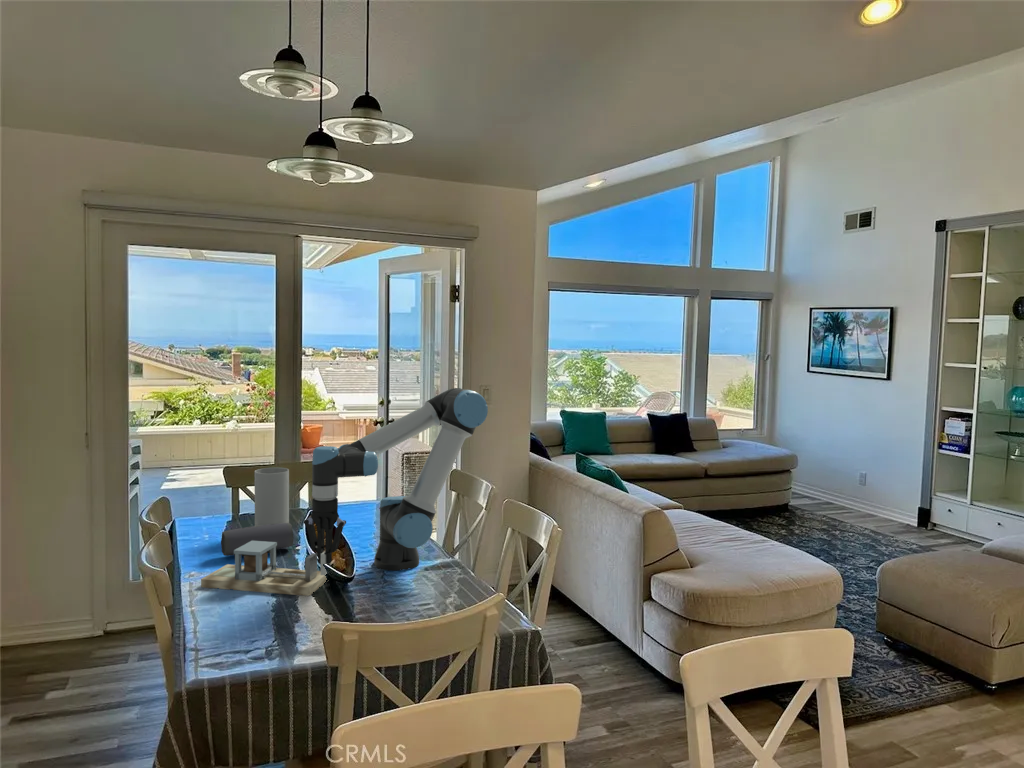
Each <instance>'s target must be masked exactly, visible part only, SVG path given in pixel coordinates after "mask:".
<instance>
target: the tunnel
mask: <svg viewBox="0 0 1024 768" xmlns="http://www.w3.org/2000/svg"><path fill="white" fill-rule="evenodd" d="M276 546H277V542H266V541H250V542H248V543H246V544H245V545H243V546H241V547H239V548H237V549H235V550H234V554H235V555H234V565H235V579H238V580H251V581H261V580H262V554H263V553H265V552H267V551H269V550H270V553H269V562H268V566H272V569H275V571H276V568H277V549H276ZM241 554H246V555H256V573H255V572H242V571H241V565H242V555H241Z"/></svg>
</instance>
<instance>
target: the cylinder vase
mask: <svg viewBox="0 0 1024 768" xmlns="http://www.w3.org/2000/svg"><path fill="white" fill-rule="evenodd" d="M289 491H290V469H289V468H287V467H264V468H258V469H256V470H254V526H259V525H269V524H280V523H290V492H289Z"/></svg>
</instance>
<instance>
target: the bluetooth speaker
mask: <svg viewBox="0 0 1024 768" xmlns="http://www.w3.org/2000/svg"><path fill="white" fill-rule="evenodd" d="M293 531H294V530H293V525H292V523H290V522H289V523H280V524H269V525H259V526H255V525H253V526H247V527H240V528H235V529H228V530H224V531H222V532H221V540H220V547H221V548H220V549H221V552H222V555H223V556H224V557H229V556H230V557H231V556H235V554H234V550H235V549H237V548H239V547H241V546H243V545H245V544H246V543H248V542H250V541H266V542H277V546H276V550H279V549H280V550H281V549H284V548H289V547H292V546H293V545H294V542H295V541H294V532H293ZM267 552H268V553H269V554H270V550H269V551H267ZM245 555H246V554H241V557H243V558H244V556H245Z"/></svg>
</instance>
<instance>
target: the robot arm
mask: <svg viewBox="0 0 1024 768" xmlns="http://www.w3.org/2000/svg"><path fill="white" fill-rule="evenodd" d="M488 409H489V408H488V403H487V401H486V399H485V397H483V395H481V394H480V393H479V392H476V391H474V390H472V389H464V388H460V387H454V388H450V389H447V390H445V391H443V392H441V393H439V394H437V395H436V396H434V397H432V398H430V399H428V400H426V401H425V402H424V405H423V406H421V407H419V408H417V409H415V410H414V411H411V412H409V413H408V414H405V415H404V416H401V417H400V418H397V419H396V420H394V421H392V422H390V423H388V424H387V425H384V426H383V427H381V428H378V429H377V430H375V431H372V432H371V433H369V434H367V435H365V436H363V437H362V438H359V439H358V440H356V441H353V442H352V443H345V444H342V445H340V446H339V447H336V446H332V445H330V446H328V445H323V446H316V447H315V448H314V449H313V451H312V461H311V464H312V468H311V469H312V473H311V474H312V481H311V482H312V489H311V491H312V493H311V496H312V501H311V503H312V504H311V510H312V512H311V515H310V517H308V518H306V519H305V520H303V523H304V525H305V527H306V530H307V535H308V539H309V544H310V548H311V551H312V552H316V553H317V564H320V571H321V575H326V574H327V572H326V569H325V567H324V566H323V564H329V565H330V564H332V561H333V559H332V557H333V556H332V555H333V553H335V552H336V551H337V550H338V549H339V545H340V542H341V538H342V533H343V529H344V527H345V526H346V524H347V520H345V519H344V520H343V519H342V518H341V517H340V515H339V511H338V510H339V498H338V496H339V479H340V478H351V477H353V478H354V477H369V476H375V475H376V474H377V472H378V470H379V469H378V468H379V459H378V458H379V457H378V456H379V455H381V454H383V453H384V452H387V451H388V450H390V449H392V448H394V447H396V446H398V445H400V444H401V443H403V442H405V441H407V440H409V439H411V438H413V437H416V436H417V435H419V434H420V433H422V432H424V431H426V430H429V428H432V427H434V426H435V427H440V426H441V429H440V431H439V432H438V435H437V438H436V439H435V442H434V443H433V446H432V448H431V450H430V452H429V454H428V456H427V457H426V460H425V462H424V464H423V467H422V469H421V471H420V473H419V475H418V477H417V479H416V482H415V483H414V485H413V487H412V490H411V491H410V493H409V495H397V496H388V497H383V498H381V499H380V504H379V508H378V509H379V543H378V546H377V549H376V552H375V555H374V558H373V561H374V567H376V568H377V569H380V570H384V571H391V572H392V571H393V572H395V571H396V572H397V571H405V570H412V569H414V568H416V567H418V566H419V565H420V554H419V551H418V549H417V548H419V547H422V546H423V545H425V544H426V543H427V542H428V541H429V540H430V539H431V537H432V534H433V530H434V529H433V526H434V525H433V520H434V517H435V515H436V513H437V511H436V508H435V504H436V502H437V500H438V498H439V496H440V494H441V491H442V489H443V487H444V485H445V483H446V481H447V479H448V477H449V474H450V472H451V471H452V468H453V465H454V464H455V462H456V459H457V457H458V456H459V453H460V451H461V450H462V447H463V445H464V443H465V441H466V439H468V438H471V437H472V436H473V434H474V432H475V431H476V429H477V427H479V426H481V425H482V424H483V423H484V422H485V421H486V419H487V416H488V412H489V410H488ZM314 524H315V525H314ZM335 524H336V528H335V531H334V537H333V529H334V525H335ZM315 526H316V529H315ZM316 532H317V533H316Z"/></svg>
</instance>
